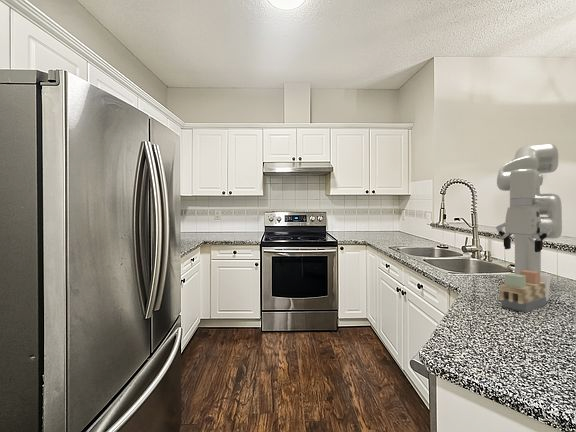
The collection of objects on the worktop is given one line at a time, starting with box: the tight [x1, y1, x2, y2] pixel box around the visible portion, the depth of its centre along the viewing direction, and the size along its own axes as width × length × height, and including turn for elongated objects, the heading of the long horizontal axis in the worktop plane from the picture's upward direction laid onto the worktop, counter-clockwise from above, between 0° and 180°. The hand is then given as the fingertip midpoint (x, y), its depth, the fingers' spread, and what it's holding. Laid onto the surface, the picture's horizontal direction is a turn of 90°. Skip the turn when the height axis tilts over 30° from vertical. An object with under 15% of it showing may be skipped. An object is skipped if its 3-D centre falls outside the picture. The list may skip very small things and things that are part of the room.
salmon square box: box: [520, 270, 540, 284], centre depth 121 cm, size 4×5×4 cm
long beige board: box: [499, 282, 545, 304], centre depth 118 cm, size 18×7×5 cm, turn 121°
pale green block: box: [504, 273, 526, 288], centre depth 115 cm, size 4×5×4 cm
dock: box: [501, 297, 547, 313], centre depth 118 cm, size 15×8×3 cm, turn 121°
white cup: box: [540, 272, 551, 302], centre depth 126 cm, size 8×8×10 cm
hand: (522, 250), depth 118 cm, fingers open, 9 cm apart
